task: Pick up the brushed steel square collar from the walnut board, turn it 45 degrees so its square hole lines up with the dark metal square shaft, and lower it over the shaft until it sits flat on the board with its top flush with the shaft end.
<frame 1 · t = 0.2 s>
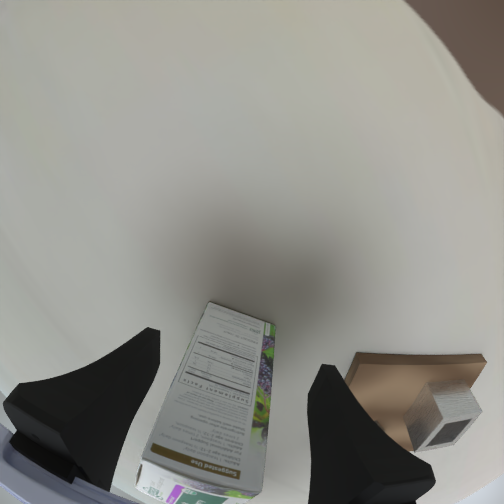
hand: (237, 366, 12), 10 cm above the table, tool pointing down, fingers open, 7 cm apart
collar: (434, 399, 23), point 1 cm above the table, touching board
syrup box: (230, 336, 24), on the table
board: (396, 409, 26), on the table
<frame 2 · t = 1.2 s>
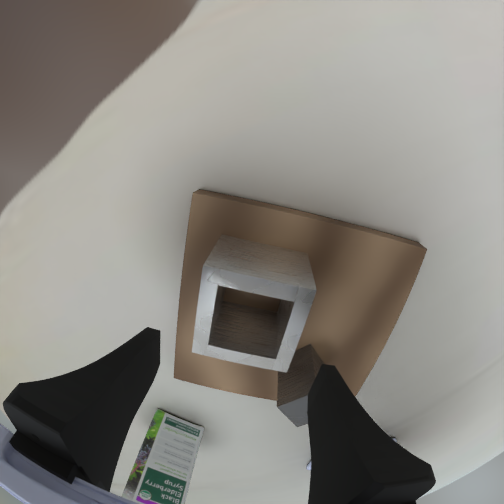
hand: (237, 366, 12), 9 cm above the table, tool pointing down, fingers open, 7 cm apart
collar: (255, 282, 19), point 1 cm above the table, touching board
syrup box: (175, 427, 29), on the table
shaft: (301, 350, 23), resting on board
board: (287, 316, 22), on the table
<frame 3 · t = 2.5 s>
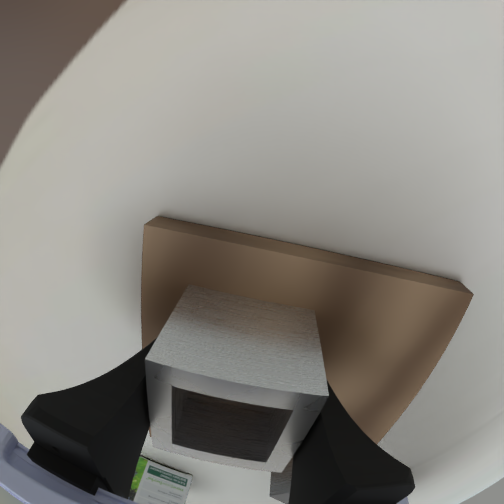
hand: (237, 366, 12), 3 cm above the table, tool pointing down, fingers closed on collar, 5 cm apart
collar: (240, 347, 13), point 1 cm above the table, touching board, gripper
syrup box: (162, 472, 23), on the table
shaft: (303, 412, 17), resting on board
board: (286, 378, 16), on the table
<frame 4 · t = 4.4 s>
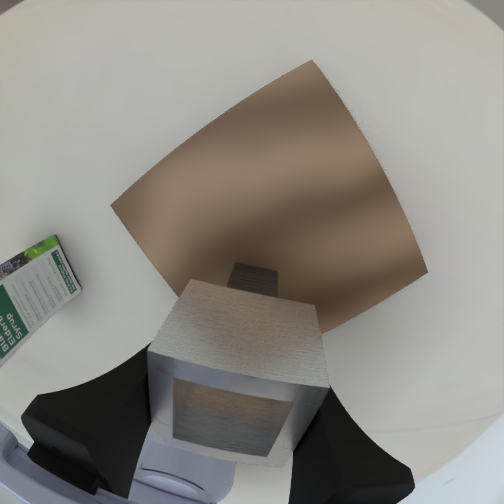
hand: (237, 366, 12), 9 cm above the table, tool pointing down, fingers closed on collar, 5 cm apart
collar: (241, 342, 14), point 8 cm above the table, touching gripper
syrup box: (53, 270, 23), on the table
shaft: (254, 276, 21), resting on board
board: (274, 230, 20), on the table
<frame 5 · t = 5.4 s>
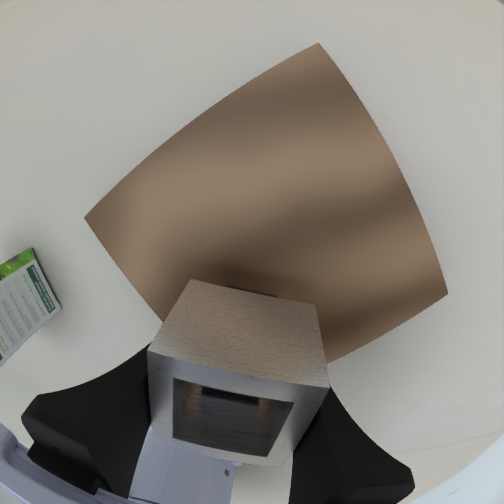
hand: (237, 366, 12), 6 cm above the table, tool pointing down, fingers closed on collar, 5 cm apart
collar: (241, 342, 13), point 5 cm above the table, touching gripper
syrup box: (32, 285, 20), on the table
board: (273, 247, 17), on the table
when the fingers open (4 cm above the table, at t = 6.4 s): collar drops 1 cm, resting on board.
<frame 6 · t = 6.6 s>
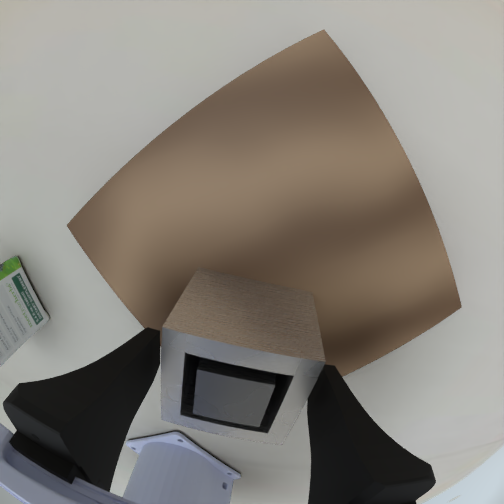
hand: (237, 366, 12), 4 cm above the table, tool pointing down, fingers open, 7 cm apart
collar: (244, 327, 15), point 1 cm above the table, touching board
syrup box: (20, 294, 18), on the table
shaft: (247, 313, 16), resting on board
board: (273, 258, 15), on the table
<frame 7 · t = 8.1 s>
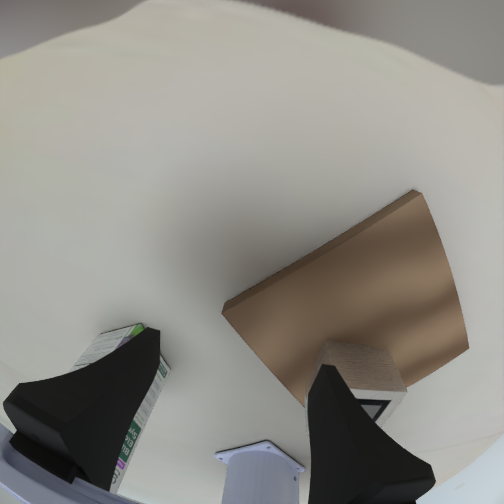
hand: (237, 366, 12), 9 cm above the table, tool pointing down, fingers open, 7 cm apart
collar: (345, 370, 22), point 1 cm above the table, touching board
syrup box: (134, 351, 25), on the table
shaft: (342, 359, 23), resting on board
board: (365, 328, 22), on the table
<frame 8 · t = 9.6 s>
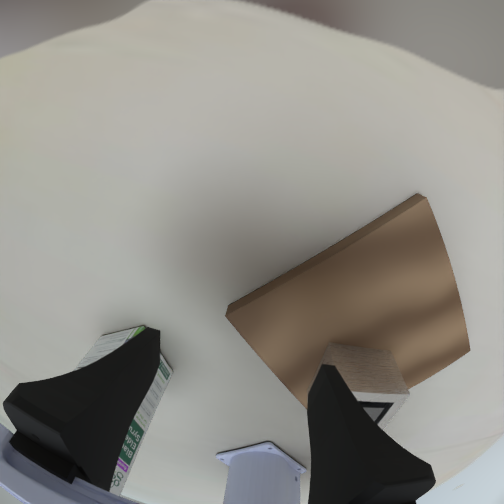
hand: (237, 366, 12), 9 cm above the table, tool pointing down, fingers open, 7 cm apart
collar: (348, 372, 22), point 1 cm above the table, touching board
syrup box: (136, 352, 25), on the table
shaft: (345, 362, 23), resting on board
board: (367, 330, 22), on the table
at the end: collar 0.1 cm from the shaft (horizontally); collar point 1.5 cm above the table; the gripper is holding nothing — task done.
